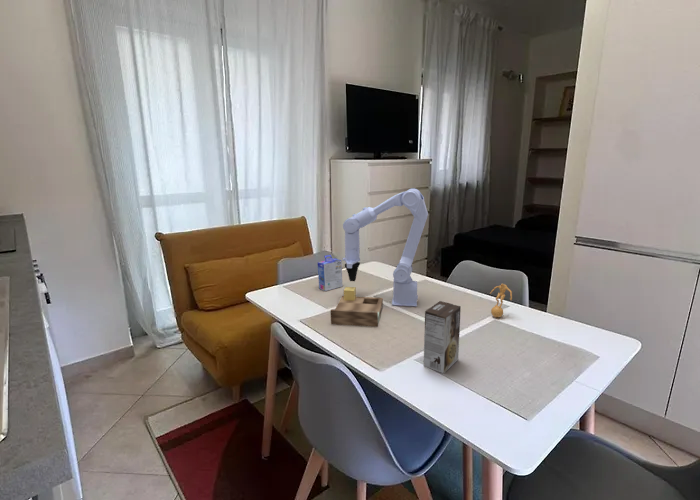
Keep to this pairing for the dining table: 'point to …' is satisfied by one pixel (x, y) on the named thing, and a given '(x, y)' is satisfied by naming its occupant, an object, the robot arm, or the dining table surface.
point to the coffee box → (441, 336)
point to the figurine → (497, 310)
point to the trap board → (357, 312)
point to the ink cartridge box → (330, 273)
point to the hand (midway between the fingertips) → (352, 280)
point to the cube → (350, 293)
